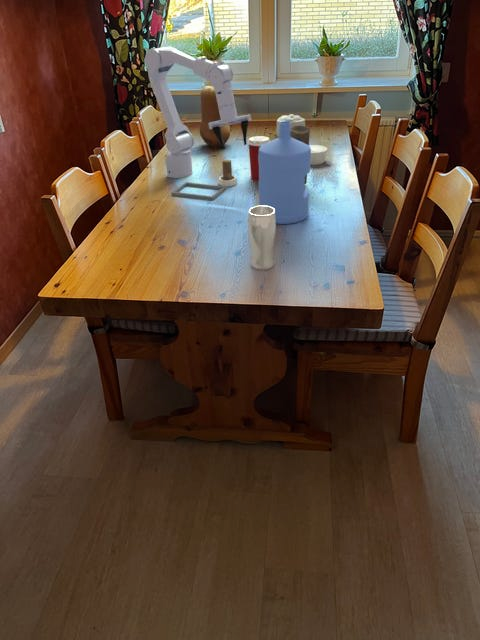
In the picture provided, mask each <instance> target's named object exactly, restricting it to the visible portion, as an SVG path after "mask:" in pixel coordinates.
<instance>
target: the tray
mask: <svg viewBox="0 0 480 640" xmlns="http://www.w3.org/2000/svg"><path fill="white" fill-rule="evenodd" d="M186 187H194V188H204V189H211V190H218V191H216V192H215V193H214V194H213V195H212V196H211V195H203V194H195V193H188V192H187V193H186V192H181V191H182V190H184V189H185V188H186ZM226 190H227V186H221V185H215V184H214V185H213V184H206V183H197V182H188V181H186V182H184V183H183V184H181V185H180V186H178V187H177V188H176V189H174V190H172V191H171V196H174V197H183V198H190V199H191V198H192V199H198V200H199V199H200V200H206V201H207V200H208V201H214V200H216V199H217V198H218V197H219V196H221V195H222V194H223V193H224V192H225V191H226Z"/></svg>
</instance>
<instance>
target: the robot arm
mask: <svg viewBox="0 0 480 640" xmlns="http://www.w3.org/2000/svg"><path fill="white" fill-rule="evenodd" d="M143 61H144V64H145V66H146V69H147V73H148V74H147V75H148V79H149V83H150V85H151V87H152V90H153V93H154V96H155V98H156V101H157V104H158V107H159V108H160V112H161V114H162V117H163V120H164V122H165V126H166V127H167V130H166V131H165V133H164V138H165V141H166V142H165V143H166V146H165V147H166V148H167V150H168V152H167V153H166V155H165V166H166V167H165V168H166V174H167V175H166V178H171V179H181V178H184V177H189V176H192V175H193V173H194V172H193V163H192V147H193V146H194V144H195V139H194V137H193V136H194V135H193V134H192V133H191V132H190V130H189V128H188V126H187V125H185V124H183V123H182V120H181V117H180V116H179V113H178V111H177V108H176V104H175V101H174V99H173V95H172V92H171V90H170V87H169V85H168V82H167V75H168V73H169V71H171V69H172V68H173V67H174V65H179V66H181V67H184V68H186V69H189V70H192V73H193V74H194V75H195V76H197V77H199V78H202V79H204V80H207V81H209V83H210V85H211V86H213V88H214V91H215V93H216V98H217V103H218V108H219V113H220V118H221V120H219V121H215V122H210V123H208V124H209V129H213V132H214V134H215V135H216V136H217V138H218V140H219V141H220V143H221V146H220V147H222V150H225V149H226V147H225V146H226V145H225V144H226V143H225V144H224V141H223V137H222V131H221V127H222V126H227V125H229V126H232V125H236V124H240V128H241V131H242V139H243V145H244V146H246V145H248V142H247V133H248V126H249V122H251V121H252V117H251V114H244V115H238V112H237V108H236V102H235V97H234V91H233V85H232V80H233V78H234V73H233V70H232V69H233V68H232V67H231V66H229V65H228V64H227V63H223V64H219V62H218V61H212V60H209V59H207V56H204V55H203V56H199V57H197V58H194V57H192V56H191V55H188V54H186V53H184V52H183V51H180V50H178V49H177V48H176V47H174V46H173V47H172V46H170V45H166V46H162V47H156V48H149V49H148V50H147V51H146V53H145V56H144V59H143ZM225 123H228V124H225Z"/></svg>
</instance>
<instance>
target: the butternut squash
mask: <svg viewBox="0 0 480 640" xmlns="http://www.w3.org/2000/svg"><path fill="white" fill-rule="evenodd" d="M200 109H201V110H200V111H201V123H200V126H199V135H200V138H201V139H202V140H203V142H204V143H205V144H207V145H209V146H210V147H212V148H216V149H218V148H220V147H222V146H221V143H220V141H219V140H218V138H217V136H216V135H215V134H214V132H213V129H209V124H208V123H210V122H215V121H219V120H221V118H220V113H219V108H218V103H217V98H216V93H215V91H214V88H213V86H212V85H205V86H203V88H201V91H200ZM225 124H228V123H225ZM230 126H231V125H227V126H222V127H221V131H222V137H223V141H224V144H226V143H228V141H229V139H230V137H231V127H230Z"/></svg>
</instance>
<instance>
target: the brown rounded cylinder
mask: <svg viewBox="0 0 480 640" xmlns="http://www.w3.org/2000/svg"><path fill="white" fill-rule="evenodd" d="M310 133H311V129H310V128H309V127H308V126H306V125H305V126H301V125H300V126H293V127H291V131H290V136H291V137H292V138H294V139H296V140H298V141H301V142H303V143H305V144H307V145H310ZM307 179H308V174H307V175H306V176H305V185H306V184H307V182H308V181H307Z"/></svg>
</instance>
